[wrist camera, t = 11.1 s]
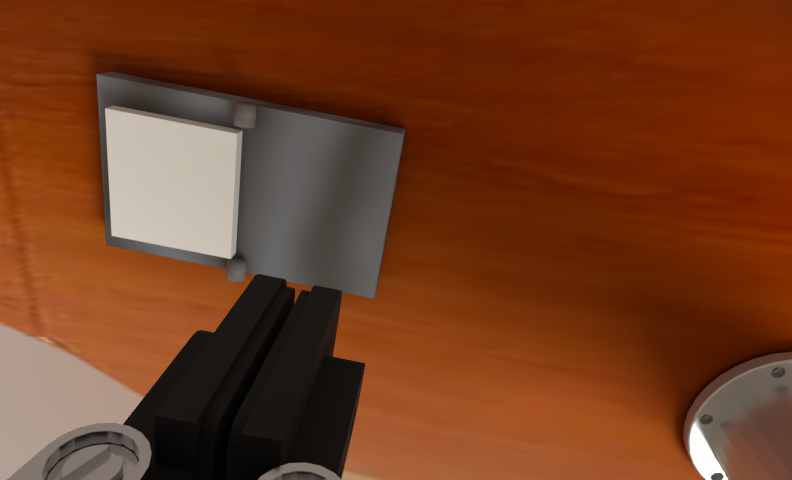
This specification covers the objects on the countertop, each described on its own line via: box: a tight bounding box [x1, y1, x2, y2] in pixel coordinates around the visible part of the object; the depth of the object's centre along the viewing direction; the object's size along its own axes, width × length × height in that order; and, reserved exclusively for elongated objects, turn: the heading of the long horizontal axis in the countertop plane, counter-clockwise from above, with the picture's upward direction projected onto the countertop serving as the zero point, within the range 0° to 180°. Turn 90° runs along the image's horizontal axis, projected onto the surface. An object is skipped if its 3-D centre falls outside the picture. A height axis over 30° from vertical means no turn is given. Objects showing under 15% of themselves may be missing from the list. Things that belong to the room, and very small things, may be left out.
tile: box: [105, 106, 243, 259], centre depth 32 cm, size 8×8×1 cm
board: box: [96, 71, 406, 299], centre depth 33 cm, size 18×11×3 cm, turn 80°
